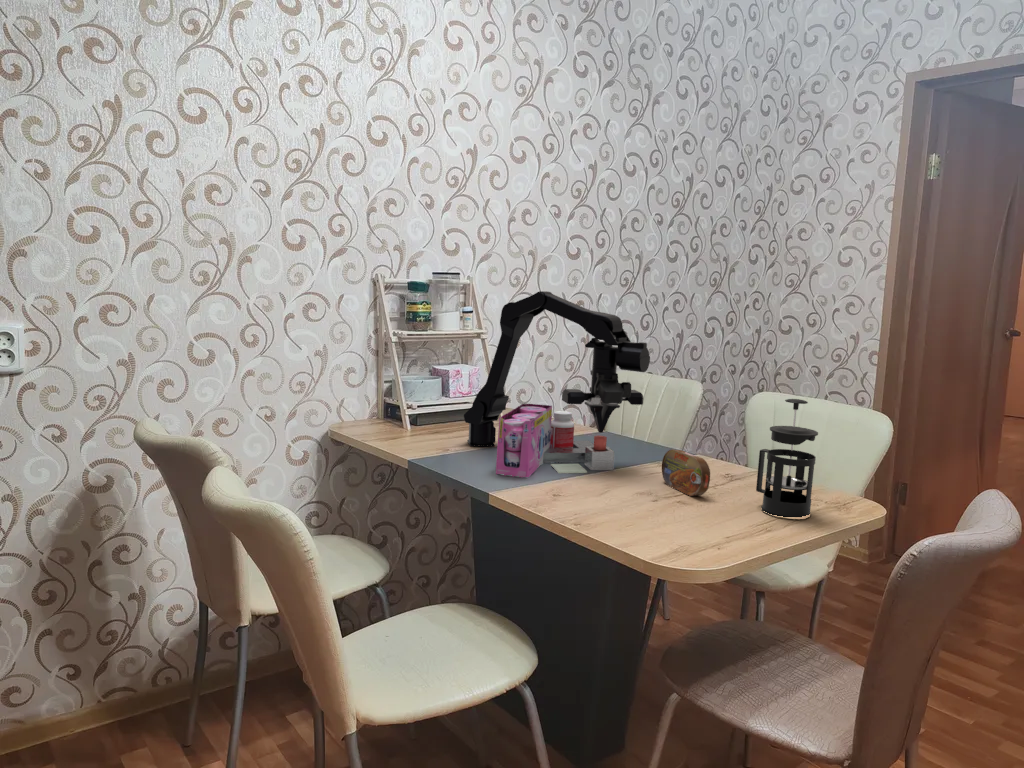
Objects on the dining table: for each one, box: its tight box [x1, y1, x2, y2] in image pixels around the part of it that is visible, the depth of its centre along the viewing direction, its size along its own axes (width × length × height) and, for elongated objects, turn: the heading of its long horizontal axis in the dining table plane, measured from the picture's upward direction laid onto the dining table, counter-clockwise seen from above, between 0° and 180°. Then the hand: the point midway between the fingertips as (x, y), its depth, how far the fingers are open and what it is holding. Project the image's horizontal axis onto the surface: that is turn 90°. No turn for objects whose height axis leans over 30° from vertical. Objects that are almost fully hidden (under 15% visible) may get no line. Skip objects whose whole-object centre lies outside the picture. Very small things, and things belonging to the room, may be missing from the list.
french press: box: [755, 398, 819, 517], centre depth 143 cm, size 12×9×23 cm
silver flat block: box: [543, 440, 594, 464], centre depth 183 cm, size 16×13×2 cm
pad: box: [550, 463, 588, 474], centre depth 171 cm, size 7×7×1 cm
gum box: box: [495, 402, 553, 478], centre depth 172 cm, size 24×8×14 cm, turn 164°
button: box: [593, 435, 608, 451], centre depth 173 cm, size 3×3×3 cm
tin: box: [661, 449, 711, 497], centre depth 156 cm, size 15×3×8 cm, turn 21°
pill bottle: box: [550, 410, 575, 448], centre depth 184 cm, size 6×6×11 cm
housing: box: [584, 445, 615, 471], centre depth 173 cm, size 6×6×4 cm
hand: (600, 432), depth 173 cm, fingers closed
